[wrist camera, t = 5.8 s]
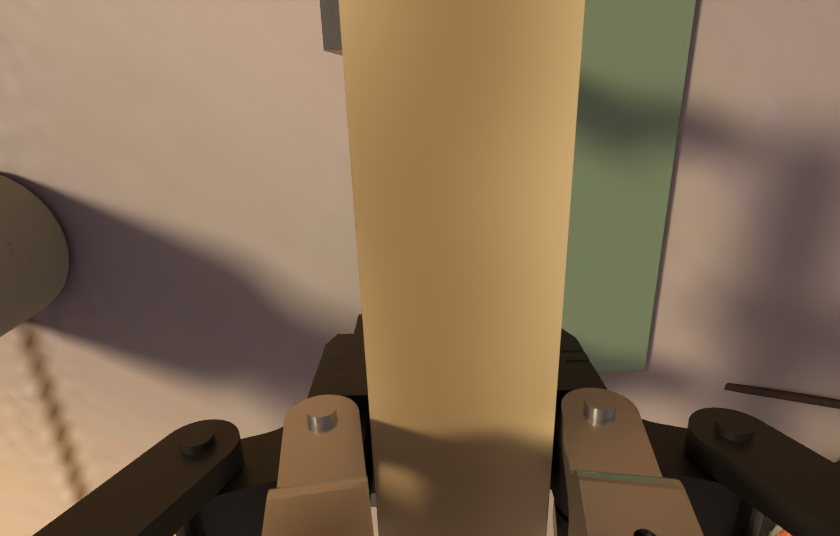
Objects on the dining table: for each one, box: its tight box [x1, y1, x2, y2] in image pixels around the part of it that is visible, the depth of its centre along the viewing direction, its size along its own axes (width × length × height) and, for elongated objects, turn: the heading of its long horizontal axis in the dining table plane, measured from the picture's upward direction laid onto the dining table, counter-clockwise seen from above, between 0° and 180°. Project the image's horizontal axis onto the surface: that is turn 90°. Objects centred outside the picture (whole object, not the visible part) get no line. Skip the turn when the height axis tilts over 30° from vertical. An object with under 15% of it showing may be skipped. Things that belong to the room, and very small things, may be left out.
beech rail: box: [339, 0, 585, 536], centre depth 10 cm, size 3×22×3 cm, turn 2°
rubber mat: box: [561, 0, 696, 372], centre depth 31 cm, size 9×26×1 cm, turn 2°
